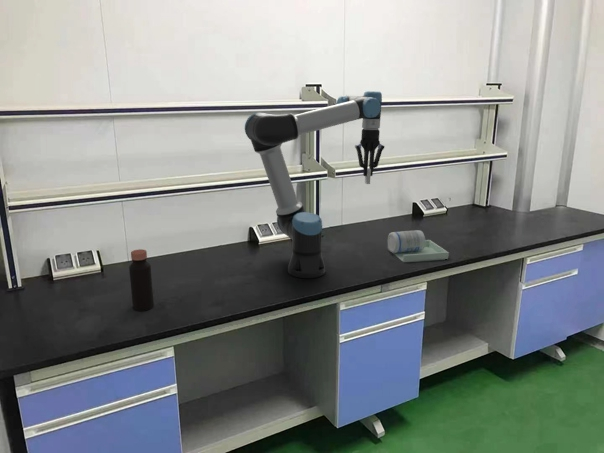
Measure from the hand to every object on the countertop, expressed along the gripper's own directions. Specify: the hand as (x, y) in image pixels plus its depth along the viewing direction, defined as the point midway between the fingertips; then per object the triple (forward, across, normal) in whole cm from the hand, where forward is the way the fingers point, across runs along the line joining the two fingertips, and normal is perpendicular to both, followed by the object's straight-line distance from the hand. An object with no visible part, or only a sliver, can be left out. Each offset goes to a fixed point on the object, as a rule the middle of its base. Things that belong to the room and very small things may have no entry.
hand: (367, 183), depth 215 cm
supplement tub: (+26, +11, -5) cm, 29 cm away
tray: (+31, +23, -7) cm, 40 cm away
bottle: (+33, -92, -42) cm, 106 cm away
